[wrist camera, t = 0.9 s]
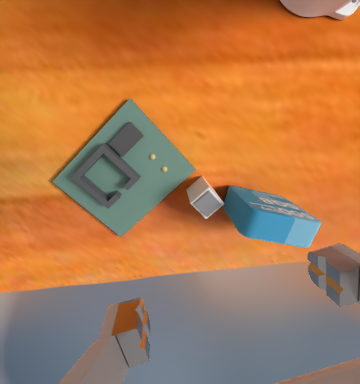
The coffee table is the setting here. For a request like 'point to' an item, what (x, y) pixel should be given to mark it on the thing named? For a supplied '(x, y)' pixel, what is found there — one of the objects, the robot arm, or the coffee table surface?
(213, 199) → the plug
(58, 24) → the coffee table surface
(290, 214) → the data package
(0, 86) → the coffee table surface
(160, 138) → the board
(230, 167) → the coffee table surface
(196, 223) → the coffee table surface
